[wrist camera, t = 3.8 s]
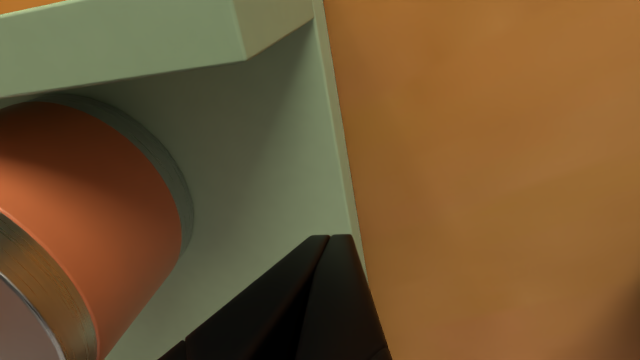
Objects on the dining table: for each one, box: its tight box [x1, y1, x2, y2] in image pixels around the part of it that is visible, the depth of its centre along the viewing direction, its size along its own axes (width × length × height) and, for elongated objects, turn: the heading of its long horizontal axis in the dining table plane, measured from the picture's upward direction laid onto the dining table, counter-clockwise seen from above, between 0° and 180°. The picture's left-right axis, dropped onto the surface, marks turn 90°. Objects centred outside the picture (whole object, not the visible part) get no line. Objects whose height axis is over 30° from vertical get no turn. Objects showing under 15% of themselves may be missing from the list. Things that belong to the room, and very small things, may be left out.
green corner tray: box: [0, 0, 369, 360], centre depth 13 cm, size 19×15×6 cm
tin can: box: [0, 93, 194, 360], centre depth 11 cm, size 7×7×6 cm
